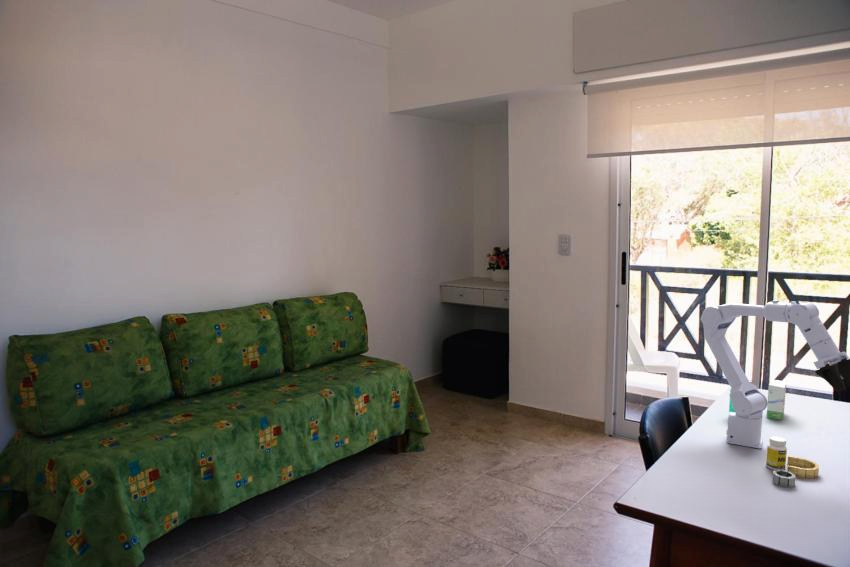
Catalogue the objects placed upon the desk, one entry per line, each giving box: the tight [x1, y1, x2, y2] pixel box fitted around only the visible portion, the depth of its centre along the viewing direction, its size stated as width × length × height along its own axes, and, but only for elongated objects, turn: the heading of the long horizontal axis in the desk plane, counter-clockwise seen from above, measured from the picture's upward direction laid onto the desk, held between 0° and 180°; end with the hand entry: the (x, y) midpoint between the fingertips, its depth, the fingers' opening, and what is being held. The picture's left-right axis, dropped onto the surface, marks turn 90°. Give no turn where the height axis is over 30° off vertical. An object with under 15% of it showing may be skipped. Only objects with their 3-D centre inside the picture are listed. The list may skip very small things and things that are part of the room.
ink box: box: [766, 379, 787, 421], centre depth 211 cm, size 8×5×12 cm, turn 146°
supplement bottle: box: [765, 435, 788, 471], centre depth 170 cm, size 5×5×8 cm
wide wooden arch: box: [786, 455, 820, 480], centre depth 167 cm, size 7×8×2 cm
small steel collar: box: [771, 469, 796, 489], centre depth 161 cm, size 5×5×2 cm
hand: (848, 388), depth 164 cm, fingers open, 7 cm apart
